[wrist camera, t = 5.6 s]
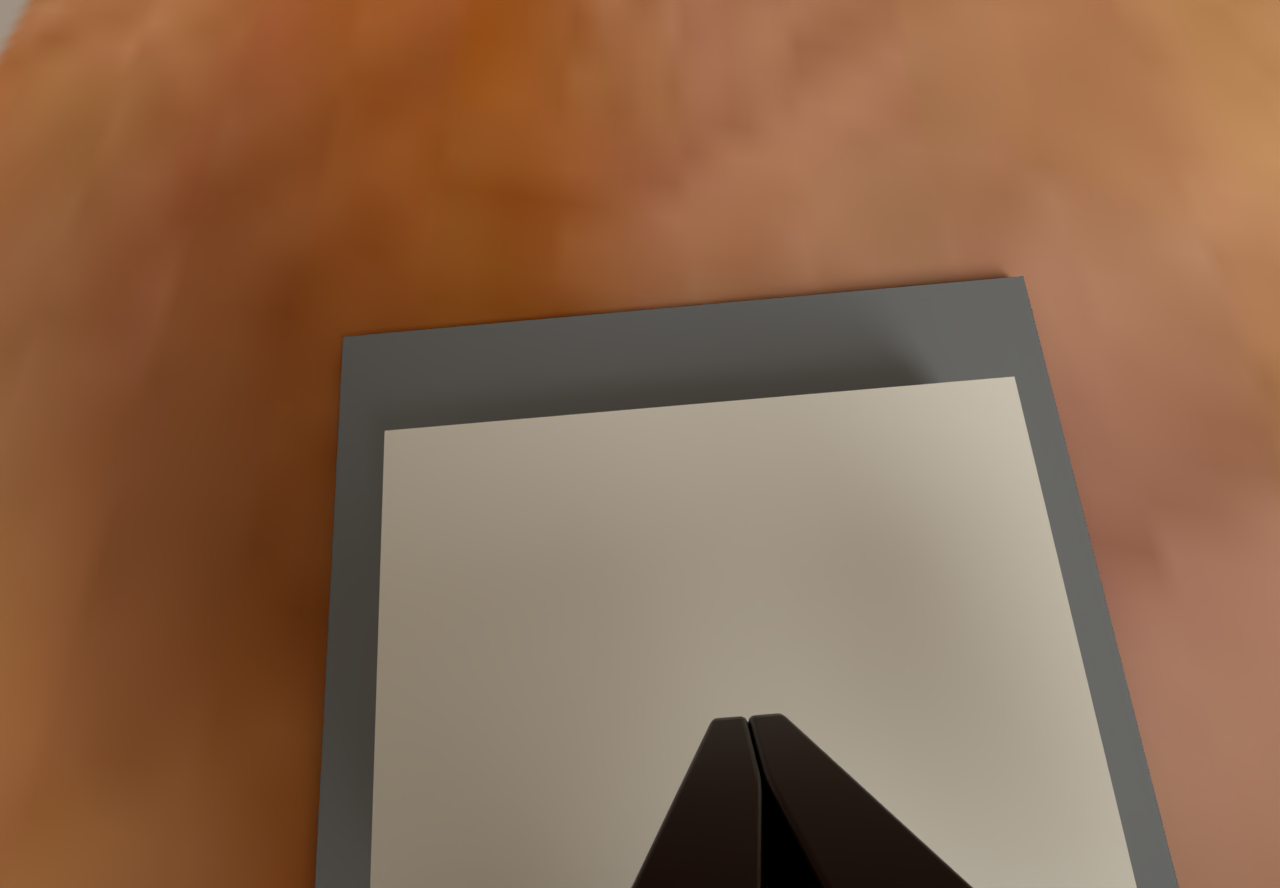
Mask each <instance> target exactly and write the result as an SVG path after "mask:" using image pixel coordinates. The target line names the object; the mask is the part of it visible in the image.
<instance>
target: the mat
mask: <svg viewBox="0 0 1280 888" xmlns="http://www.w3.org/2000/svg"><path fill="white" fill-rule="evenodd" d="M1003 377H1015V381H1016V385H1017V389H1018V394H1019V398H1020V402H1021V406H1022V410H1023V414H1024V419H1025V423H1026V427H1027V431H1028V435H1029V440H1030V444H1031V448H1032V452H1033V456H1034V460H1035V465H1036V469H1037V473H1038V477H1039V481H1040V485H1041V490H1042V494H1043V498H1044V502H1045V506H1046V510H1047V515H1048V519H1049V523H1050V527H1051V531H1052V536H1053V540H1054V544H1055V548H1056V552H1057V556H1058V561H1059V565H1060V569H1061V573H1062V577H1063V581H1064V586H1065V590H1066V594H1067V598H1068V602H1069V606H1070V611H1071V615H1072V619H1073V623H1074V627H1075V632H1076V636H1077V640H1078V644H1079V648H1080V652H1081V657H1082V661H1083V665H1084V669H1085V673H1086V677H1087V682H1088V686H1089V690H1090V694H1091V698H1092V702H1093V707H1094V711H1095V715H1096V719H1097V723H1098V728H1099V732H1100V736H1101V740H1102V744H1103V748H1104V753H1105V757H1106V761H1107V765H1108V769H1109V773H1110V778H1111V782H1112V786H1113V790H1114V794H1115V798H1116V803H1117V807H1118V811H1119V815H1120V819H1121V824H1122V828H1123V832H1124V836H1125V840H1126V844H1127V849H1128V853H1129V857H1130V861H1131V865H1132V869H1133V874H1134V878H1135V882H1136V886H1137V888H1179V887H1178V883H1177V879H1176V875H1175V871H1174V867H1173V863H1172V859H1171V855H1170V852H1169V848H1168V844H1167V840H1166V836H1165V832H1164V828H1163V824H1162V820H1161V816H1160V812H1159V808H1158V804H1157V800H1156V797H1155V793H1154V789H1153V785H1152V781H1151V777H1150V773H1149V769H1148V765H1147V761H1146V757H1145V753H1144V749H1143V745H1142V741H1141V738H1140V734H1139V730H1138V726H1137V722H1136V718H1135V714H1134V710H1133V706H1132V702H1131V698H1130V694H1129V690H1128V686H1127V683H1126V679H1125V675H1124V671H1123V667H1122V663H1121V659H1120V655H1119V651H1118V647H1117V643H1116V639H1115V635H1114V631H1113V627H1112V624H1111V620H1110V616H1109V612H1108V608H1107V604H1106V600H1105V596H1104V592H1103V588H1102V584H1101V580H1100V576H1099V572H1098V569H1097V565H1096V561H1095V557H1094V553H1093V549H1092V545H1091V541H1090V537H1089V533H1088V529H1087V525H1086V521H1085V517H1084V513H1083V510H1082V506H1081V502H1080V498H1079V494H1078V490H1077V486H1076V482H1075V478H1074V474H1073V470H1072V466H1071V462H1070V458H1069V455H1068V451H1067V447H1066V443H1065V439H1064V435H1063V431H1062V427H1061V423H1060V419H1059V415H1058V411H1057V407H1056V403H1055V399H1054V396H1053V392H1052V388H1051V384H1050V380H1049V376H1048V372H1047V368H1046V364H1045V360H1044V356H1043V352H1042V348H1041V344H1040V341H1039V337H1038V333H1037V329H1036V325H1035V321H1034V317H1033V313H1032V309H1031V305H1030V301H1029V297H1028V293H1027V289H1026V285H1025V282H1024V278H1023V276H1019V277H1008V278H997V279H986V280H974V281H963V282H952V283H941V284H929V285H918V286H907V287H896V288H885V289H873V290H862V291H851V292H840V293H829V294H817V295H806V296H795V297H784V298H773V299H761V300H750V301H739V302H728V303H716V304H705V305H694V306H683V307H672V308H660V309H649V310H638V311H627V312H616V313H604V314H593V315H582V316H571V317H560V318H548V319H537V320H526V321H515V322H503V323H492V324H481V325H470V326H459V327H447V328H436V329H425V330H414V331H403V332H391V333H380V334H369V335H358V336H347V337H343V348H342V368H341V387H340V407H339V426H338V446H337V465H336V485H335V504H334V524H333V543H332V563H331V582H330V602H329V621H328V641H327V660H326V680H325V699H324V719H323V738H322V758H321V777H320V797H319V816H318V836H317V855H316V875H315V888H370V875H371V844H372V812H373V781H374V749H375V718H376V686H377V655H378V623H379V591H380V560H381V528H382V497H383V465H384V434H385V431H387V430H399V429H411V428H422V427H434V426H446V425H457V424H469V423H480V422H492V421H504V420H515V419H527V418H538V417H550V416H562V415H573V414H585V413H596V412H608V411H620V410H631V409H643V408H654V407H666V406H678V405H689V404H701V403H712V402H724V401H736V400H747V399H759V398H770V397H782V396H794V395H805V394H817V393H828V392H840V391H852V390H863V389H875V388H887V387H898V386H910V385H921V384H933V383H945V382H956V381H968V380H979V379H991V378H1003Z"/></svg>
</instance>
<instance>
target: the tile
mask: <svg viewBox="0 0 1280 888" xmlns="http://www.w3.org/2000/svg"><path fill="white" fill-rule="evenodd" d="M775 713H780V714H783V715H784V716H786V717H787V718H788V719H789V720H790V721H791V722H792V723H793V724H795V725H796V726H797V727H798V728H799V729H800V730H801V731H802V732H803V733H804V734H805V735H807V736H808V737H809V738H810V739H811V740H812V741H813V742H814V743H815V744H816V745H818V746H819V747H820V748H821V749H822V750H823V751H824V752H825V753H826V754H827V755H828V756H830V757H831V758H832V759H833V760H834V761H835V762H836V763H837V764H838V765H839V766H840V767H842V768H843V769H844V770H845V771H846V772H847V773H848V774H849V775H850V776H851V777H853V778H854V779H855V780H856V781H857V782H858V783H859V784H860V785H861V786H862V787H863V788H865V789H866V790H867V791H868V792H869V793H870V794H871V795H872V796H873V797H874V798H875V799H877V800H878V801H879V802H880V803H881V804H882V805H883V806H884V807H885V808H886V809H888V810H889V811H890V812H891V813H892V814H893V815H894V816H895V817H896V818H897V819H898V820H900V821H901V822H902V823H903V824H904V825H905V826H906V827H907V828H908V829H909V830H910V831H912V832H913V833H914V834H915V835H916V836H917V837H918V838H919V839H920V840H921V841H922V842H924V843H925V844H926V845H927V846H928V847H929V848H930V849H931V850H932V851H933V852H935V853H936V854H937V855H938V856H939V857H940V858H941V859H942V860H943V861H944V862H945V863H947V864H948V865H949V866H950V867H951V868H952V869H953V870H954V871H955V872H956V873H957V874H959V875H960V876H961V877H962V878H963V879H964V880H965V881H966V882H967V883H968V884H970V885H971V886H972V887H973V888H1137V886H1136V882H1135V878H1134V874H1133V869H1132V865H1131V861H1130V857H1129V853H1128V849H1127V844H1126V840H1125V836H1124V832H1123V828H1122V824H1121V819H1120V815H1119V811H1118V807H1117V803H1116V798H1115V794H1114V790H1113V786H1112V782H1111V778H1110V773H1109V769H1108V765H1107V761H1106V757H1105V753H1104V748H1103V744H1102V740H1101V736H1100V732H1099V728H1098V723H1097V719H1096V715H1095V711H1094V707H1093V702H1092V698H1091V694H1090V690H1089V686H1088V682H1087V677H1086V673H1085V669H1084V665H1083V661H1082V657H1081V652H1080V648H1079V644H1078V640H1077V636H1076V632H1075V627H1074V623H1073V619H1072V615H1071V611H1070V606H1069V602H1068V598H1067V594H1066V590H1065V586H1064V581H1063V577H1062V573H1061V569H1060V565H1059V561H1058V556H1057V552H1056V548H1055V544H1054V540H1053V536H1052V531H1051V527H1050V523H1049V519H1048V515H1047V510H1046V506H1045V502H1044V498H1043V494H1042V490H1041V485H1040V481H1039V477H1038V473H1037V469H1036V465H1035V460H1034V456H1033V452H1032V448H1031V444H1030V440H1029V435H1028V431H1027V427H1026V423H1025V419H1024V414H1023V410H1022V406H1021V402H1020V398H1019V394H1018V389H1017V385H1016V381H1015V377H1003V378H991V379H979V380H968V381H956V382H945V383H933V384H921V385H910V386H898V387H887V388H875V389H863V390H852V391H840V392H828V393H817V394H805V395H794V396H782V397H770V398H759V399H747V400H736V401H724V402H712V403H701V404H689V405H678V406H666V407H654V408H643V409H631V410H620V411H608V412H596V413H585V414H573V415H562V416H550V417H538V418H527V419H515V420H504V421H492V422H480V423H469V424H457V425H446V426H434V427H422V428H411V429H399V430H387V431H385V434H384V465H383V497H382V528H381V560H380V591H379V623H378V655H377V686H376V718H375V749H374V781H373V812H372V844H371V875H370V888H631V887H632V885H633V883H634V881H635V879H636V877H637V874H638V872H639V870H640V868H641V866H642V864H643V862H644V860H645V858H646V856H647V854H648V852H649V849H650V847H651V845H652V843H653V841H654V839H655V837H656V835H657V833H658V831H659V829H660V827H661V824H662V822H663V820H664V818H665V816H666V814H667V812H668V810H669V808H670V806H671V804H672V802H673V799H674V797H675V795H676V793H677V791H678V789H679V787H680V785H681V783H682V781H683V779H684V776H685V774H686V772H687V770H688V768H689V766H690V764H691V762H692V760H693V758H694V756H695V754H696V751H697V749H698V747H699V745H700V743H701V741H702V739H703V737H704V735H705V733H706V731H707V729H708V726H709V724H710V723H711V721H712V720H713V719H715V718H724V717H737V716H742V717H744V718H746V720H747V721H748V720H749V718H750V717H751V716H753V715H762V714H775Z"/></svg>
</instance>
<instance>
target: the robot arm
mask: <svg viewBox="0 0 1280 888" xmlns="http://www.w3.org/2000/svg"><path fill="white" fill-rule="evenodd" d="M631 888H973V887H972V886H971V885H970V884H968V883H967V882H966V881H965V880H964V879H963V878H962V877H961V876H960V875H959V874H957V873H956V872H955V871H954V870H953V869H952V868H951V867H950V866H949V865H948V864H947V863H945V862H944V861H943V860H942V859H941V858H940V857H939V856H938V855H937V854H936V853H935V852H933V851H932V850H931V849H930V848H929V847H928V846H927V845H926V844H925V843H924V842H922V841H921V840H920V839H919V838H918V837H917V836H916V835H915V834H914V833H913V832H912V831H910V830H909V829H908V828H907V827H906V826H905V825H904V824H903V823H902V822H901V821H900V820H898V819H897V818H896V817H895V816H894V815H893V814H892V813H891V812H890V811H889V810H888V809H886V808H885V807H884V806H883V805H882V804H881V803H880V802H879V801H878V800H877V799H875V798H874V797H873V796H872V795H871V794H870V793H869V792H868V791H867V790H866V789H865V788H863V787H862V786H861V785H860V784H859V783H858V782H857V781H856V780H855V779H854V778H853V777H851V776H850V775H849V774H848V773H847V772H846V771H845V770H844V769H843V768H842V767H840V766H839V765H838V764H837V763H836V762H835V761H834V760H833V759H832V758H831V757H830V756H828V755H827V754H826V753H825V752H824V751H823V750H822V749H821V748H820V747H819V746H818V745H816V744H815V743H814V742H813V741H812V740H811V739H810V738H809V737H808V736H807V735H805V734H804V733H803V732H802V731H801V730H800V729H799V728H798V727H797V726H796V725H795V724H793V723H792V722H791V721H790V720H789V719H788V718H787V717H786V716H784V715H783V714H780V713H775V714H762V715H753V716H751V717H750V718H749V720H748V721H747V720H746V718H744V717H742V716H737V717H724V718H715V719H713V720H712V721H711V723H710V724H709V726H708V729H707V731H706V733H705V735H704V737H703V739H702V741H701V743H700V745H699V747H698V749H697V751H696V754H695V756H694V758H693V760H692V762H691V764H690V766H689V768H688V770H687V772H686V774H685V776H684V779H683V781H682V783H681V785H680V787H679V789H678V791H677V793H676V795H675V797H674V799H673V802H672V804H671V806H670V808H669V810H668V812H667V814H666V816H665V818H664V820H663V822H662V824H661V827H660V829H659V831H658V833H657V835H656V837H655V839H654V841H653V843H652V845H651V847H650V849H649V852H648V854H647V856H646V858H645V860H644V862H643V864H642V866H641V868H640V870H639V872H638V874H637V877H636V879H635V881H634V883H633V885H632V887H631Z"/></svg>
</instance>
